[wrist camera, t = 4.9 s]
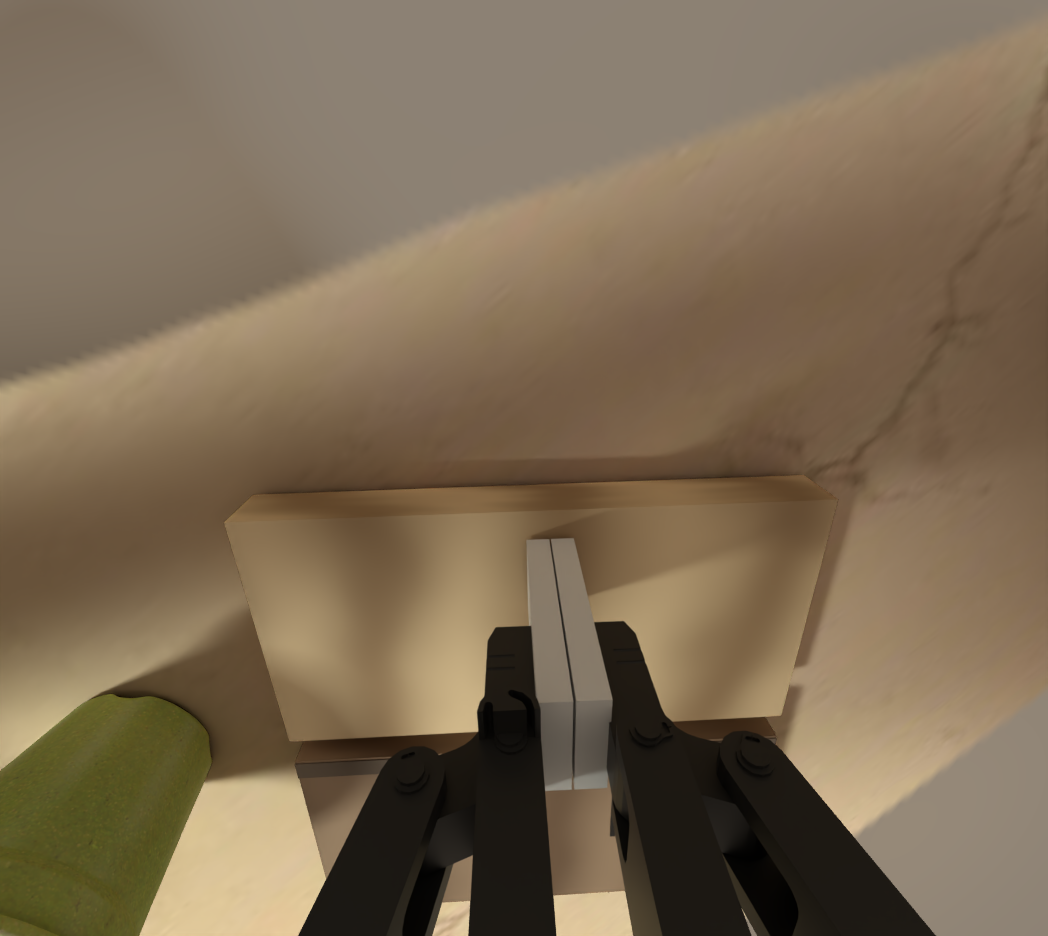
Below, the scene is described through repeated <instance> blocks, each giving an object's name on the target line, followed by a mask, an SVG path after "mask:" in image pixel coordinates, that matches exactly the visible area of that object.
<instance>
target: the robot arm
mask: <svg viewBox="0 0 1048 936" xmlns="http://www.w3.org/2000/svg"><path fill="white" fill-rule="evenodd" d="M526 543H527V584H528V614H529V626H512V627H495V629H494V631H493V632H492V634H491V636H490V637H489V639H488V641H487V659H486V676H485V694H484V697H483V699H482V700H481V701H480V703H479V706H478V710H477V720H478V732H477V734H476V735H475V736H474V737H473V738H472V739H471V740H470V741H469V742H467V743H466V744H465V745H463V746H461V747H459V748H457V749H455V750H452V751H449V752H446V753H444V754H441V755H438V753H437V752H436V751H435V750H433V749H430V748H428V747H425V746H412V747H409V748H406V749H403V750H400V751H399V752H397V753H396V754H395V755H393V756H392V757H391V758H389V759H388V761H387V762H386V764H385V765H384V766H383V768H382V769H381V771H380V773H379V775H378V777H377V779H376V781H375V783H374V785H373V787H372V789H371V791H370V793H369V795H368V797H367V799H366V801H365V803H364V805H363V807H362V809H361V811H360V813H359V815H358V817H357V819H356V821H355V823H354V825H353V827H352V829H351V831H350V833H349V835H348V837H347V839H346V841H345V843H344V845H343V847H342V849H341V851H340V853H339V855H338V857H337V859H336V861H335V863H334V865H333V867H332V869H331V871H330V873H329V875H328V877H327V879H326V881H325V883H324V885H323V887H322V889H321V891H320V893H319V895H318V897H317V899H316V901H315V903H314V905H313V907H312V909H311V911H310V913H309V915H308V917H307V919H306V921H305V923H304V925H303V927H302V929H301V931H300V933H299V935H298V936H432V934H433V931H434V928H435V924H436V921H437V918H438V914H439V911H440V908H441V904H442V901H443V898H444V894H445V891H446V888H447V884H448V881H449V878H450V874H451V871H452V868H453V864H454V863H456V862H459V861H461V860H463V859H465V858H468V857H470V856H472V855H473V862H472V880H471V899H470V917H469V935H468V936H556V925H555V912H554V899H553V886H552V873H551V860H550V847H549V834H548V821H547V808H546V795H545V791H553V790H572V775H573V783H574V789H596V788H607V783H608V778H609V783H610V788H611V793H612V802H611V817H610V837H612V836H615V837H616V843H617V848H618V854H619V859H620V865H621V870H622V876H623V881H624V887H625V892H626V898H627V903H628V909H629V914H630V920H631V925H632V931H633V936H751V933H750V930H749V927H748V925H747V922H746V919H745V916H744V913H745V915H746V916H747V918H748V920H749V922H750V924H751V925H752V927H753V929H754V931H755V932H756V934H757V936H936V935H935V934H934V933H933V932H932V931H931V929H930V928H929V927H928V926H927V925H926V923H925V922H924V921H923V920H922V919H921V918H920V916H919V915H918V914H917V913H916V911H915V910H914V909H913V908H912V907H911V905H910V904H909V903H908V902H907V900H906V899H905V898H904V897H903V896H902V894H901V893H900V892H899V891H898V890H897V888H896V887H895V886H894V885H893V884H892V882H891V881H890V880H889V879H888V878H887V877H886V875H885V874H884V873H883V872H882V870H881V869H880V868H879V867H878V866H877V865H876V863H875V862H874V861H873V860H872V858H871V857H870V856H869V855H868V854H867V853H866V852H865V850H864V849H863V848H862V846H861V845H860V844H859V843H858V842H857V840H856V839H855V838H854V837H853V836H852V834H851V833H850V832H849V831H848V830H847V828H846V827H845V826H844V825H843V824H842V822H841V821H840V820H839V819H838V818H837V816H836V815H835V814H834V813H833V812H832V810H831V809H830V808H829V807H828V806H827V804H826V803H825V802H824V801H823V800H822V798H821V797H820V796H819V795H818V793H817V792H816V791H815V790H814V789H813V787H812V786H811V785H810V784H809V783H808V781H807V780H806V779H805V778H804V777H803V775H802V774H801V773H800V772H799V771H798V769H797V768H796V767H795V766H794V765H793V763H792V762H791V761H790V760H789V759H788V757H787V756H786V755H785V754H784V753H783V751H782V750H781V749H779V748H778V747H777V746H776V745H775V744H774V743H773V742H772V741H771V740H769V739H767V738H765V737H763V736H761V735H760V734H757V733H753V732H749V731H733V732H731V733H730V734H728V735H726V736H724V738H723V740H722V742H721V743H719V742H715V741H711V740H707V739H703V738H699V737H696V736H693V735H690V734H687V733H686V732H684V731H682V730H680V729H679V728H677V727H676V726H675V725H674V723H673V722H672V721H671V720H670V719H669V718H668V717H667V716H666V715H665V714H664V712H663V710H662V708H661V705H660V702H659V699H658V696H657V693H656V690H655V687H654V685H653V682H652V679H651V676H650V673H649V670H648V667H647V664H646V663H645V659H644V656H643V653H642V651H641V647H640V644H639V641H638V639H637V636H636V633H635V632H634V631H633V630H632V629H631V628H630V627H629V626H628V625H627V624H626V623H625V622H624V621H610V622H594V620H593V616H592V612H591V608H590V604H589V600H588V595H587V591H586V587H585V583H584V579H583V575H582V571H581V566H580V562H579V558H578V554H577V550H576V546H575V542H574V538H562V539H551V548H550V541H549V539H535V540H526ZM742 909H743V911H744V913H743V911H742Z"/></svg>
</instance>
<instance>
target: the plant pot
mask: <svg viewBox="0 0 1048 936" xmlns="http://www.w3.org/2000/svg"><path fill="white" fill-rule="evenodd" d="M211 764H212V758H211V755H210V745H209V735H208V733H207V731H206V730H205V728H204V727H203V726H202V725H201V724H200V722H199V721H198V720H197V719H195V718H194V717H193V716H192V715H190V714H189V713H188V712H186V711H184V710H183V709H181V708H180V707H178V706H176V705H174V704H172V703H170V702H168V701H165V700H162V699H160V698H157V697H152V696H146V697H139V698H121V697H118V696H116V695H114V694H107V695H103V696H99V697H96V698H93V699H91V700H89V701H87V702H85V703H83V704H81V705H80V706H79V707H77V708H76V709H75V710H74V711H72V712H71V713H70V714H69V715H68V716H66V717H65V718H64V719H63V720H61V721H60V722H59V723H58V724H57V725H55V726H54V727H53V728H52V729H50V730H49V731H48V732H47V733H46V734H44V735H43V736H42V737H41V738H40V739H38V740H37V741H36V742H35V743H34V744H32V745H31V746H30V747H29V748H28V749H26V750H25V751H24V752H23V753H21V754H20V755H19V756H18V757H17V758H15V759H14V760H13V761H12V762H10V763H9V764H8V765H7V766H6V767H4V768H3V769H2V770H1V771H0V936H139V935H140V932H141V930H142V927H143V925H144V922H145V920H146V917H147V915H148V912H149V910H150V907H151V905H152V903H153V900H154V898H155V896H156V893H157V891H158V889H159V886H160V884H161V882H162V879H163V877H164V874H165V872H166V870H167V867H168V865H169V863H170V860H171V858H172V855H173V853H174V851H175V848H176V846H177V844H178V841H179V839H180V836H181V834H182V832H183V829H184V827H185V824H186V822H187V820H188V818H189V815H190V813H191V811H192V809H193V806H194V804H195V802H196V799H197V797H198V795H199V793H200V791H201V788H202V786H203V783H204V781H205V779H206V776H207V774H208V771H209V769H210V766H211Z"/></svg>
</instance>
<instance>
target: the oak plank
mask: <svg viewBox="0 0 1048 936" xmlns="http://www.w3.org/2000/svg"><path fill="white" fill-rule="evenodd" d="M837 503H838V499H837V498H835V497H834V496H833V495H831V494H830V493H828V492H827V491H826V490H824V489H823V488H821V487H820V486H819V485H817V484H816V483H814V482H813V481H812V480H810V479H809V478H807V477H806V476H805V475H791V476H763V477H735V478H707V479H679V480H651V481H623V482H595V483H566V484H538V485H510V486H482V487H454V488H426V489H398V490H370V491H342V492H314V493H286V494H258V495H252V496H251V497H250V498H249V499H248V500H247V501H246V502H245V503H244V504H243V505H242V506H241V507H240V508H239V509H238V510H236V511H235V512H234V513H233V514H232V515H231V516H230V517H229V518H228V519H227V520H226V521H225V522H224V525H225V528H226V532H227V535H228V538H229V542H230V545H231V548H232V552H233V555H234V558H235V562H236V565H237V568H238V572H239V575H240V578H241V582H242V585H243V588H244V592H245V595H246V598H247V602H248V605H249V608H250V612H251V615H252V618H253V622H254V625H255V628H256V632H257V635H258V638H259V642H260V645H261V648H262V652H263V655H264V658H265V662H266V665H267V668H268V672H269V675H270V678H271V682H272V685H273V688H274V692H275V695H276V699H277V702H278V705H279V709H280V712H281V715H282V719H283V722H284V725H285V729H286V732H287V735H288V739H289V742H292V741H311V740H330V739H349V738H368V737H387V736H406V735H425V734H445V733H464V732H478V720H477V710H478V706H479V703H480V701H481V700H482V699H483V697H484V694H485V676H486V659H487V641H488V639H489V637H490V636H491V634H492V632H493V631H494V629H495V627H512V626H529V614H528V584H527V543H526V540H535V539H549V541H550V548H551V539H562V538H574V542H575V546H576V550H577V554H578V558H579V562H580V566H581V571H582V575H583V579H584V583H585V587H586V591H587V595H588V600H589V604H590V608H591V612H592V616H593V620H594V622H610V621H624V622H625V623H626V624H627V625H628V626H629V627H630V628H631V629H632V630H633V631H634V632H635V633H636V636H637V639H638V641H639V644H640V647H641V651H642V653H643V656H644V659H645V663H646V664H647V667H648V670H649V673H650V676H651V679H652V682H653V685H654V687H655V690H656V693H657V696H658V699H659V702H660V705H661V708H662V710H663V712H664V714H665V715H666V716H667V717H668V718H669V719H670V720H671V721H672V722H673V721H692V720H711V719H730V718H749V717H768V716H781V714H782V710H783V707H784V703H785V699H786V695H787V692H788V688H789V684H790V680H791V676H792V673H793V669H794V665H795V661H796V658H797V654H798V650H799V646H800V643H801V639H802V635H803V631H804V627H805V624H806V620H807V616H808V612H809V609H810V605H811V601H812V597H813V593H814V590H815V586H816V582H817V578H818V575H819V571H820V567H821V563H822V560H823V556H824V552H825V548H826V544H827V541H828V537H829V533H830V529H831V526H832V522H833V518H834V514H835V511H836V507H837Z"/></svg>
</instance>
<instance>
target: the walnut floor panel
mask: <svg viewBox="0 0 1048 936" xmlns="http://www.w3.org/2000/svg"><path fill="white" fill-rule="evenodd" d="M673 723H674V725H675V726H676V727H677V728H679V729H680V730H682V731H684V732H686V733H687V734H690V735H693V736H696V737H699V738H703V739H707V740H711V741H715V742H719V743H721V742H722V740H723V738H724V736H726V735H728V734H730V733H731V732H733V731H749V732H753V733H757V734H760V735H761V736H763V737H765V738H767V739H769V740H771V741H772V742H773V743H774V744H776V739H777V738H776V734H775V733H774V731H773V729H772V728H771V726H770V724H769V723H768V721H767V719H766V718H765V717H749V718H730V719H711V720H692V721H673ZM476 734H477V732H464V733H445V734H425V735H406V736H387V737H368V738H349V739H330V740H311V741H304V742H303V744H302V746H301V749H300V751H299V753H298V756H297V758H296V760H295V767H296V771H297V775H298V778H299V779H300V783H301V787H302V790H303V794H304V798H305V801H306V805H307V809H308V813H309V816H310V820H311V824H312V828H313V831H314V835H315V839H316V842H317V846H318V850H319V854H320V857H321V861H322V865H323V868H324V872H325V876H326V879H327V877H328V875H329V873H330V871H331V869H332V867H333V865H334V863H335V861H336V859H337V857H338V855H339V853H340V851H341V849H342V847H343V845H344V843H345V841H346V839H347V837H348V835H349V833H350V831H351V829H352V827H353V825H354V823H355V821H356V819H357V817H358V815H359V813H360V811H361V809H362V807H363V805H364V803H365V801H366V799H367V797H368V795H369V793H370V791H371V789H372V787H373V785H374V783H375V781H376V779H377V777H378V775H379V773H380V771H381V769H382V768H383V766H384V765H385V764H386V762H387V761H388V759H389V758H391V757H392V756H393V755H395V754H396V753H397V752H399V751H400V750H403V749H406V748H409V747H412V746H425V747H428V748H430V749H433V750H435V751H436V752H437V753H438V755H441V754H444V753H446V752H449V751H452V750H455V749H457V748H459V747H461V746H463V745H465V744H466V743H467V742H469V741H470V740H471V739H472V738H473V737H474V736H475V735H476ZM545 795H546V808H547V821H548V834H549V847H550V860H551V873H552V886H553V895H567V894H582V893H598V892H614V891H625V887H624V881H623V876H622V870H621V865H620V859H619V854H618V848H617V843H616V837H615V836H612V837H610V817H611V802H612V793H611V788H610V783H609V778H608V783H607V788H596V789H574V783H573V775H572V790H553V791H545ZM472 862H473V855H472V856H470V857H468V858H465V859H463V860H461V861H459V862H456V863H454V864H453V868H452V871H451V874H450V878H449V881H448V884H447V888H446V891H445V894H444V898H443V901H442V902H458V901H470V899H471V880H472Z"/></svg>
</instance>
